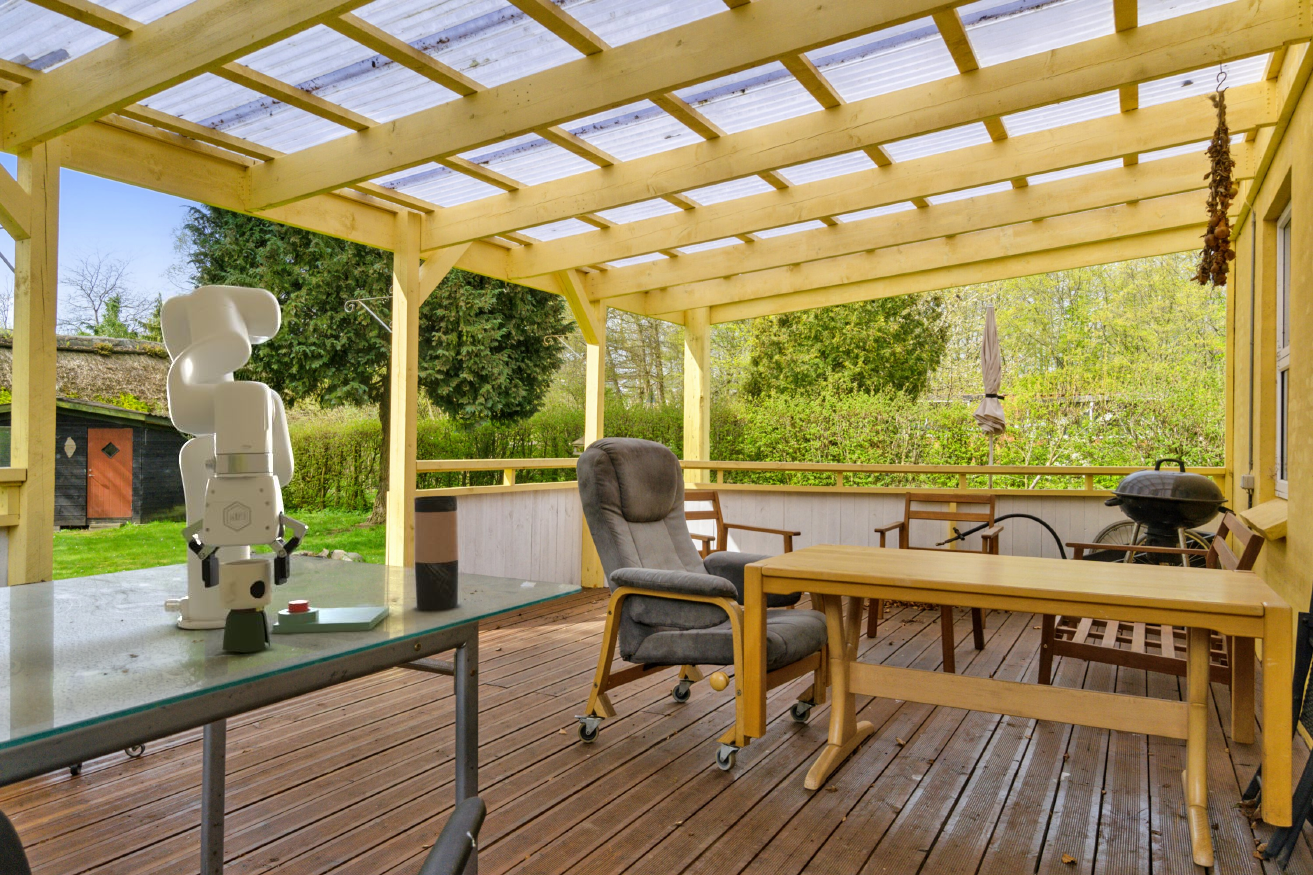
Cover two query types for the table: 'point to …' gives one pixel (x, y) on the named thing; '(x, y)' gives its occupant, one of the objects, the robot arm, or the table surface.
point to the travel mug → (436, 552)
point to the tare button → (298, 606)
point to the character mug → (245, 603)
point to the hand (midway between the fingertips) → (246, 585)
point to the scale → (330, 619)
